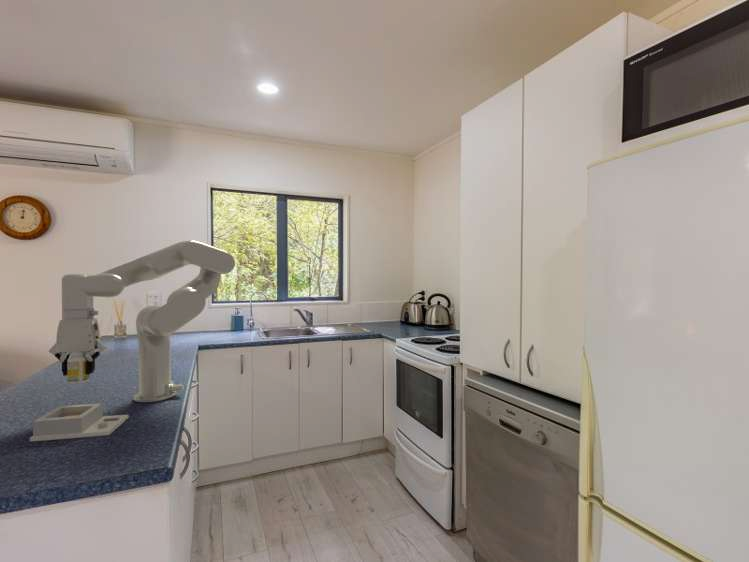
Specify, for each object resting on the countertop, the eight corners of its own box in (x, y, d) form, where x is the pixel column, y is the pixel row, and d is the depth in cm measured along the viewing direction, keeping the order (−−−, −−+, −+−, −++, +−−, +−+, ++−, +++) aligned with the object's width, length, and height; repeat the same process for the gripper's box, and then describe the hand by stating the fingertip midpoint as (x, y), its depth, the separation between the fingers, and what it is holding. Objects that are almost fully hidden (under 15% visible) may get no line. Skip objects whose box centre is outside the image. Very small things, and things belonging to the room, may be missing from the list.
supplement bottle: (69, 385, 111) (69, 352, 111) (65, 381, 114) (64, 350, 114) (91, 381, 115) (91, 350, 115) (87, 378, 118) (86, 347, 118)
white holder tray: (128, 417, 111) (128, 401, 111) (108, 435, 100) (108, 416, 100) (58, 423, 108) (58, 405, 108) (29, 441, 96) (29, 422, 96)
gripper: (115, 313, 120) (115, 369, 120) (53, 314, 116) (54, 372, 116) (103, 315, 112) (104, 375, 113) (36, 316, 109) (37, 378, 109)
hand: (78, 373), depth 115 cm, fingers closed on supplement bottle, 5 cm apart
